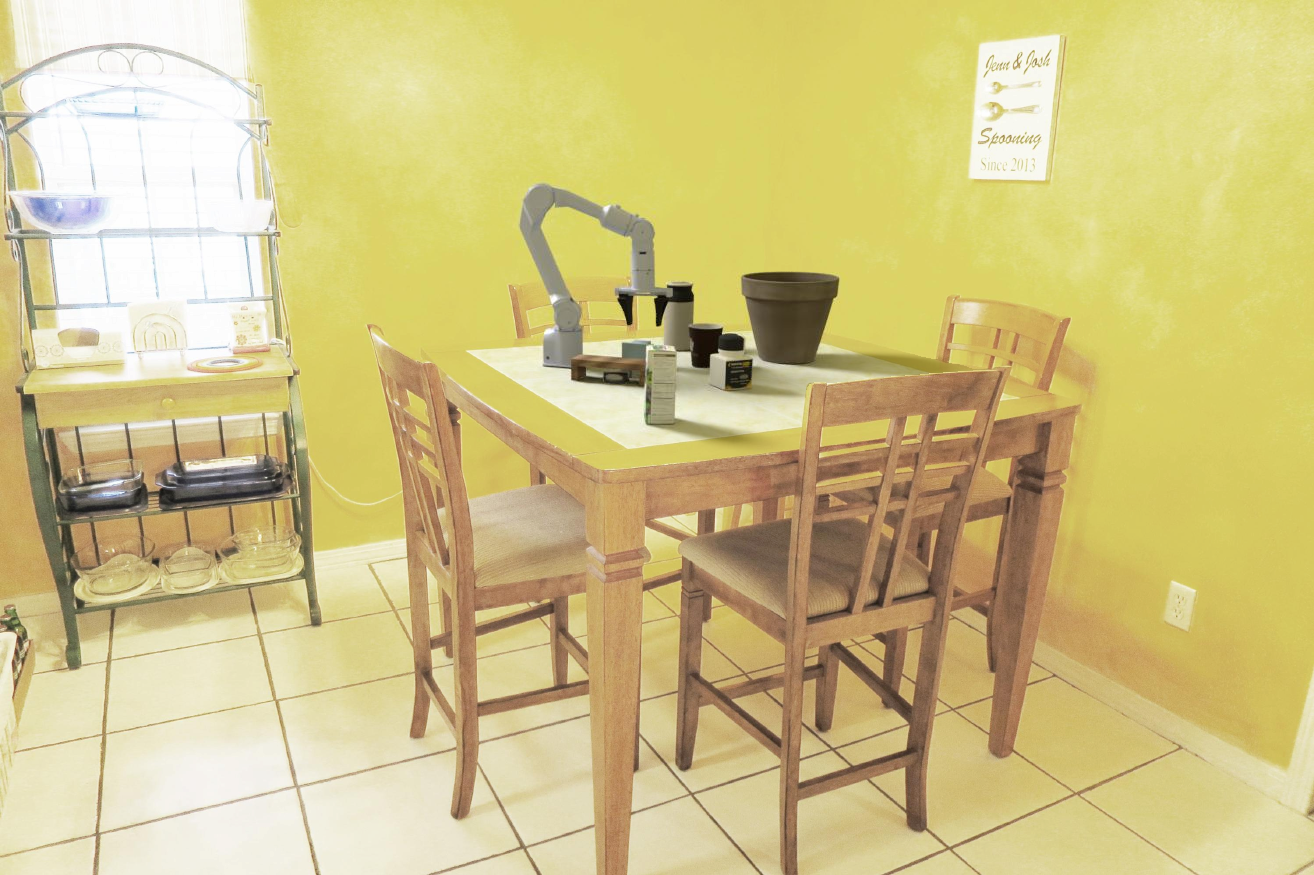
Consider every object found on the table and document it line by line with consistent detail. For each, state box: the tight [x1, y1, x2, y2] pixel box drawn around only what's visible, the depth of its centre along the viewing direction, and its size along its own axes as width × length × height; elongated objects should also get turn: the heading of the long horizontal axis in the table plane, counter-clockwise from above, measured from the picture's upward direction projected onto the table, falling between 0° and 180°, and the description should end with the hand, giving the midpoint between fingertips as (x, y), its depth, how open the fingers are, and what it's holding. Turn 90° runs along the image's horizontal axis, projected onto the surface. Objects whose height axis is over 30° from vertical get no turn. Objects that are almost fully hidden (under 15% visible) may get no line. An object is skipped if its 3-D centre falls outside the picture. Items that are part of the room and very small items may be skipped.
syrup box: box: [643, 344, 678, 425], centre depth 176 cm, size 6×6×14 cm
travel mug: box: [663, 280, 695, 352], centre depth 248 cm, size 8×8×18 cm
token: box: [602, 368, 630, 385], centre depth 211 cm, size 6×6×2 cm
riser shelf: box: [570, 353, 646, 387], centre depth 210 cm, size 18×6×5 cm, turn 74°
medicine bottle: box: [708, 332, 754, 392], centre depth 206 cm, size 7×7×12 cm
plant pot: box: [740, 271, 840, 365], centre depth 237 cm, size 25×25×22 cm
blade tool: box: [621, 339, 655, 379], centre depth 222 cm, size 8×17×6 cm, turn 164°
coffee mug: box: [689, 322, 724, 369], centre depth 230 cm, size 12×9×10 cm
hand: (644, 325), depth 225 cm, fingers open, 7 cm apart
